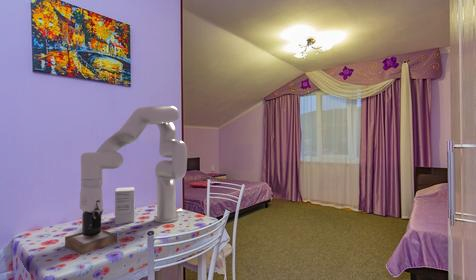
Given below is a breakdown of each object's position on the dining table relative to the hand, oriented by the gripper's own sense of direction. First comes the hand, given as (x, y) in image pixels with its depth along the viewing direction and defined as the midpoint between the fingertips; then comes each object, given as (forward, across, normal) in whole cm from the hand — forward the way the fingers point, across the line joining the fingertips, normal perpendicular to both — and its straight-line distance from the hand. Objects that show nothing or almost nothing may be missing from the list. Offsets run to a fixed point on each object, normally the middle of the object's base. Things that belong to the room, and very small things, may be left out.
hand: (92, 225), depth 106 cm
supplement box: (+8, -17, +25) cm, 31 cm away
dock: (+8, 0, 0) cm, 8 cm away
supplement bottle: (+3, 0, 0) cm, 3 cm away
